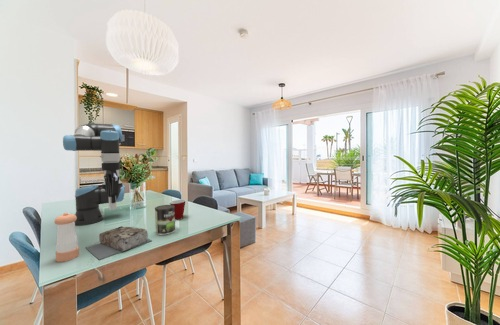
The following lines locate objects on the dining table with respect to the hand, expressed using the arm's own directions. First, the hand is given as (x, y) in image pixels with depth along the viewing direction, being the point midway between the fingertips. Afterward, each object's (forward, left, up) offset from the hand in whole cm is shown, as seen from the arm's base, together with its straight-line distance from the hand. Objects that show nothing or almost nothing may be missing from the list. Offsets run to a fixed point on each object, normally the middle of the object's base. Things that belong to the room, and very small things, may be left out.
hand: (112, 209), depth 100 cm
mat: (+7, 0, -16) cm, 18 cm away
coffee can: (+10, +22, -17) cm, 29 cm away
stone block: (-4, +1, -14) cm, 14 cm away
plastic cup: (-5, +40, -17) cm, 44 cm away
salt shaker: (+2, -18, -17) cm, 25 cm away
